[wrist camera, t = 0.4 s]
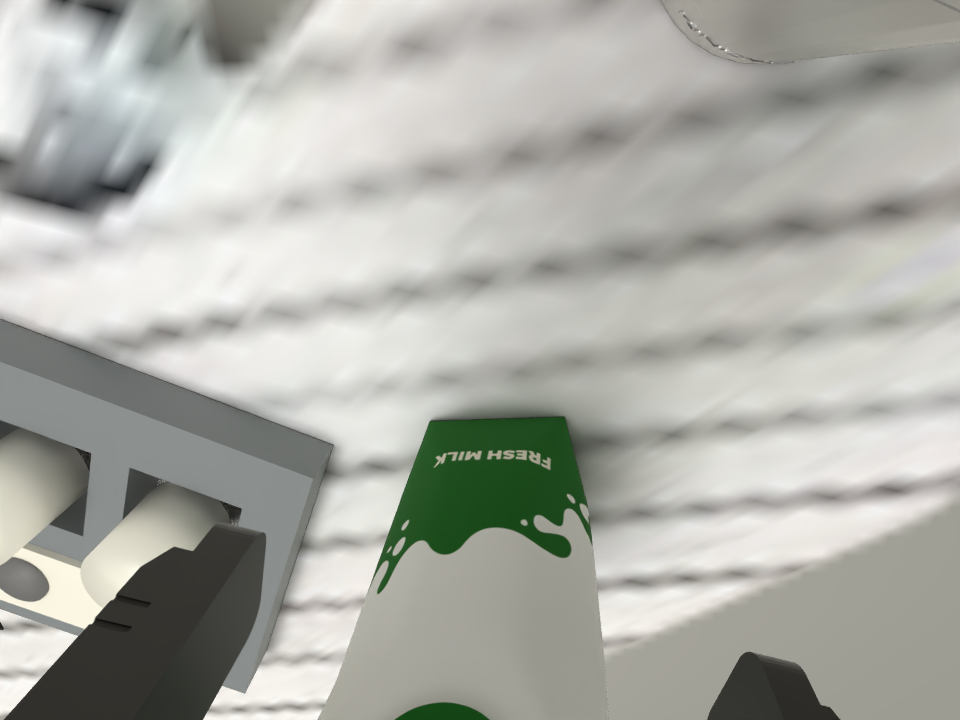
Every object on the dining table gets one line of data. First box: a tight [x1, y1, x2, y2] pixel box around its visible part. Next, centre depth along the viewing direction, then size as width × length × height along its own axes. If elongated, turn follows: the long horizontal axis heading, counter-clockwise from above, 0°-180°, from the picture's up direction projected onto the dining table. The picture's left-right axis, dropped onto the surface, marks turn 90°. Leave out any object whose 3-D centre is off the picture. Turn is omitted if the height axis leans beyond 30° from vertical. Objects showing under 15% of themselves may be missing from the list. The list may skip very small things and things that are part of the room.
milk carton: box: [318, 417, 609, 720], centre depth 22 cm, size 9×9×20 cm
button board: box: [0, 319, 333, 693], centre depth 33 cm, size 18×28×3 cm, turn 69°
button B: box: [0, 428, 89, 565], centre depth 29 cm, size 5×5×5 cm
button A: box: [80, 482, 231, 608], centre depth 30 cm, size 5×5×5 cm
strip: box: [0, 543, 103, 629], centre depth 34 cm, size 5×24×1 cm, turn 69°
